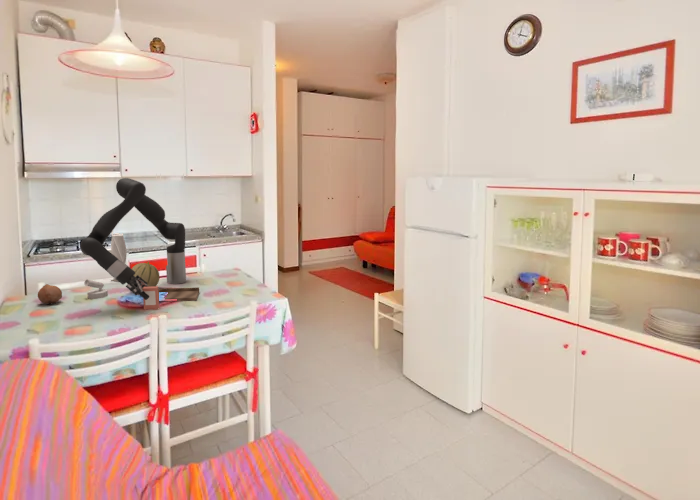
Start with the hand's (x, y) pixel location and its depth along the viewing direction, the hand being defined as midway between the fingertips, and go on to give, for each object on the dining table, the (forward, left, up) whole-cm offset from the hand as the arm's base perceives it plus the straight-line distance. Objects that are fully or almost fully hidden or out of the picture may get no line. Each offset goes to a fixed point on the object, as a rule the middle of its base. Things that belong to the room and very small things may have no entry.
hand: (150, 295), depth 202 cm
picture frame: (0, 0, -6) cm, 6 cm away
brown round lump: (-48, -11, -6) cm, 49 cm away
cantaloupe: (-24, +22, -6) cm, 33 cm away
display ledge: (-1, +18, -6) cm, 19 cm away
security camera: (-38, +5, -6) cm, 39 cm away
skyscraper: (-52, +34, -6) cm, 62 cm away
